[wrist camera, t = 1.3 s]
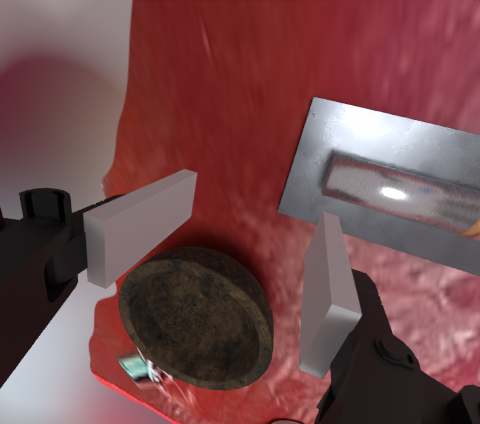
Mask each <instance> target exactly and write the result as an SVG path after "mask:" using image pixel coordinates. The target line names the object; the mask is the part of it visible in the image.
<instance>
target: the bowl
mask: <svg viewBox="0 0 480 424" xmlns="http://www.w3.org/2000/svg"><path fill="white" fill-rule="evenodd" d="M119 311H120V316H121V319H122V322H123V324H124V327H125V329H126V331H127V333H128V335H129V336H130V338H131V340H132V341H133V342H134V344H135V345H136V346H137V347H138V349H139V350H140V351H141V352H142V353H143V354H144V355H145V356H146V357H147V358H148V359H149V360H150V361H151V362H153V363H154V364H155V365H156V366H158V367H159V368H160V369H162V370H163V371H165V372H166V373H168V374H170V375H171V376H173V377H175V378H177V379H179V380H181V381H183V382H185V383H188V384H191V385H194V386H197V387H201V388H206V389H211V390H233V389H239V388H242V387H245V386H248V385H250V384H252V383H253V382H255V381H257V380H258V379H260V377H261V376H262V375H263V374H264V373H265V372H266V371H267V369H268V367H269V365H270V362H271V360H272V353H273V337H274V323H273V316H272V311H271V308H270V305H269V303H268V300H267V297H266V295H265V292H264V290H263V289H262V287H261V285H260V284H259V282H258V280H257V279H256V278H255V277H254V276H253V275H252V274H251V273H250V271H249V270H248V269H247V268H246V267H244V266H243V265H242V264H241V263H239V262H238V261H237V260H235V259H234V258H232V257H230V256H228V255H227V254H224V253H222V252H219V251H216V250H213V249H209V248H204V247H199V246H185V247H180V248H174V249H170V250H165V251H163V252H161V253H159V254H157V255H154V256H153V257H151V258H150V259H148V260H146V261H145V262H143V263H142V264H140V265H139V266H137V267H136V268H135V269H133V270H132V271H131V272H130V273H129V274H128V275H127V276H126V278H125V279H124V281H123V283H122V285H121V288H120V292H119Z"/></svg>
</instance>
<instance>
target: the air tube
mask: <svg viewBox="0 0 480 424" xmlns="http://www.w3.org/2000/svg"><path fill="white" fill-rule="evenodd" d="M321 195H324V196H327V197H331V198H334V199H338V200H341V201H344V202H348V203H351V204H355V205H358V206H361V207H365V208H368V209H372V210H375V211H378V212H382V213H385V214H388V215H392V216H395V217H399V218H402V219H405V220H409V221H412V222H416V223H419V224H422V225H426V226H429V227H433V228H436V229H439V230H443V231H446V232H450V233H453V234H456V235H460V236H463V237H467V238H470V239H473V240H477V241H480V191H478V190H474V189H470V188H466V187H463V186H459V185H455V184H451V183H448V182H444V181H440V180H436V179H432V178H429V177H425V176H421V175H417V174H414V173H410V172H406V171H402V170H398V169H395V168H391V167H387V166H383V165H380V164H376V163H372V162H368V161H364V160H361V159H357V158H353V157H349V156H346V155H342V154H338V153H335V154H334V156H333V158H332V160H331V162H330V164H329V167H328V169H327V172H326V175H325V178H324V181H323V184H322V188H321Z"/></svg>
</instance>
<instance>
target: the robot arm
mask: <svg viewBox="0 0 480 424" xmlns="http://www.w3.org/2000/svg"><path fill="white" fill-rule="evenodd" d="M196 179H197V173H196V172H193V171H190V170H186V169H183V170H181V171H179V172H177V173H174V174H172V175H170V176H167V177H165V178H163V179H161V180H158V181H156V182H154V183H151V184H149V185H147V186H144V187H142V188H140V189H138V190H135V191H133V192H131V193H128V194H121V195H116V196H112V197H110V198H107V199H105V200H104V201H100V202H98V203H96V205H94V204H93V205H91V206H88V207H86V208H84V209H81V210H79V211H77V212H74V213H72V209H71V199H70V194H69V193H67V192H66V191H63V190H59V189H52V188H37V189H31V190H26V191H23V192H21V193H19V196H20V201H21V206H22V212H23V217H24V218H22V219H20V220H15V219H8V218H3V216H2V212H1V208H0V388H1V387H2V386H3V384H4V383H5V382H6V380H7V379H8V378H9V376H10V375H11V374H12V372H13V371H14V370H15V368H16V367H17V366H18V364H19V363H20V361H21V360H22V359H23V357H24V356H25V355H26V353H27V352H28V350H29V349H30V348H31V347H32V345H33V344H34V343H35V341H36V340H37V339H38V337H39V336H40V334H41V333H42V332H43V330H44V329H45V328H46V326H47V325H48V324H49V322H50V321H51V320H52V318H53V317H54V316H55V314H56V313H57V312H58V310H59V309H60V308H61V306H62V305H63V303H64V302H65V301H66V299H67V298H68V297H69V295H70V294H71V293H72V291H73V290H74V289H75V287H76V285H77V283H78V274H79V273H80V272H82V271H83V270H85V269H86V268H87V277H88V281H89V282H91V283H93V284H96V285H98V286H101V287H103V288H105V289H106V288H108V287H109V286H110V285H111V284H112V283H113V282H115V281H116V280H117V279H118V278H119V277H121V276H122V275H123V274H124V273H125V272H126V271H128V270H129V269H130V268H131V267H132V266H134V265H135V264H136V263H137V262H138V261H139V260H141V259H142V258H143V257H144V256H145V255H146V254H148V253H149V252H150V251H151V250H152V249H154V248H155V247H156V246H157V245H158V244H159V243H161V242H162V241H163V240H164V239H165V238H167V237H168V236H169V235H170V234H171V233H172V232H174V231H175V230H176V229H177V228H178V227H180V226H181V225H182V224H183V223H184V222H185V221H187V220H188V219H189V218H190V217H191V213H192V206H193V199H194V192H195V185H196ZM378 295H379V294H378V291H377V288H376V285H375V283H374V282H373V281H372V280H371V279H370V277H369V276H368V275H367V274H366V273H363V272H360V271H357V270H354V269H351V266H350V262H349V258H348V254H347V250H346V245H345V241H344V237H343V233H342V229H341V224H340V220H339V216H337V215H334V214H331V213H327V212H324V211H323V213H322V215H321V218H320V220H319V223H318V225H317V227H316V230H315V232H314V235H313V237H312V240H311V242H310V245H309V247H308V250H307V252H306V255H305V267H304V283H303V300H302V317H301V333H300V350H299V366H298V369H300V370H302V371H305V372H307V373H310V374H312V375H314V376H317V377H319V378H322V379H324V377H325V375H326V374H327V372H328V370H329V369H330V370H331V385H330V386H329V388H328V389H327V391H326V393H325V394H324V396H323V397H322V399H321V400H320V402H319V404H318V405H317V408H318V409H319V412H318V414H317V417H316V420H315V423H314V424H480V387H478V386H475V385H467V386H464V387H463V388H462V389H461V390H460V391H459V392H458V393H456V392H454V391H452V390H451V389H449V388H448V387H446V386H444V385H443V384H441V383H440V382H438V381H436V380H435V379H433V378H432V377H430V376H428V375H427V374H426V373H424V372H423V371H421V369H420V365H419V361H418V360H417V358H416V357H415V355H414V353H413V352H412V351H411V349H410V348H409V347H408V346H407V345H406V344H405V343H404V342H403V341H401V340H400V339H398V338H397V337H396V336H394V335H393V333H392V330H391V327H390V325H389V322H388V319H387V316H386V313H385V311H384V308H383V305H381V303H382V302H381V299H380V297H379V296H378Z"/></svg>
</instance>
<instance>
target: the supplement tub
mask: <svg viewBox="0 0 480 424" xmlns="http://www.w3.org/2000/svg"><path fill="white" fill-rule="evenodd" d="M271 424H300V423H297V422H294V421H288V420H280V421H275V422H273V423H271Z"/></svg>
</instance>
